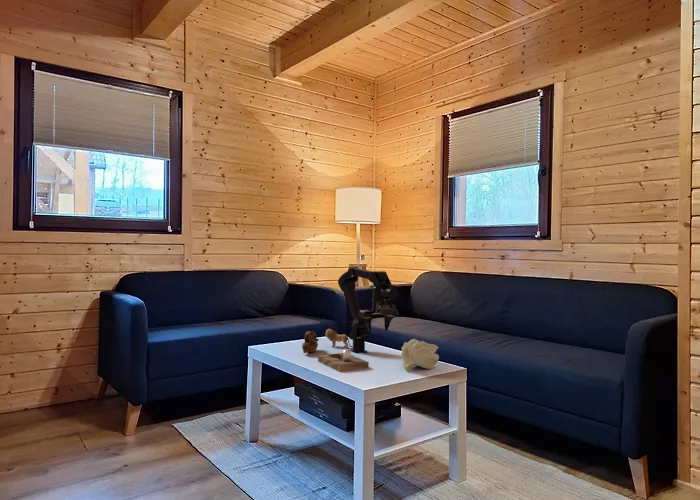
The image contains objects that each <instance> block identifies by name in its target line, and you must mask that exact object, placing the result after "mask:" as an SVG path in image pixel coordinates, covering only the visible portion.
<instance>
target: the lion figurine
mask: <svg viewBox="0 0 700 500" xmlns="http://www.w3.org/2000/svg"><path fill="white" fill-rule="evenodd" d="M324 336H325V337H326V339H328V340H329V341H331V342H332V345H331V348H335V346H336V344H337V342H342V343H343V344H344V345H343V348H345V350H349V347H350V348H353V345H351V343H350V339H349V336H348V335H346V334H339V333H337V332H336V331H335V330H334V329H331V328H328V329H326V330H325V335H324Z"/></svg>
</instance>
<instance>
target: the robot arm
mask: <svg viewBox="0 0 700 500" xmlns="http://www.w3.org/2000/svg"><path fill="white" fill-rule="evenodd" d="M359 278H362V279H367V280H368V281H369V282H371V285H370V286H369V288H371V289H372V299H371V301H370V303H372V308H370V310H368V309H361V307H360V303H359V301H358V298H357V294H356V287H357V284H356V283H357V281H358V280H359ZM337 283H338V286H339V289H340V290H341V291H342V292H343V293H344V295H345V298H346V300H347V304H348V307H349V308H348V309H349V312H350V314H351V318H352V324H351V331H350V332H349V334H348V339H349V340H351V341H352V349H351V348H350V349H349V350H351V353H352V352H353V353H356V354H359V353H368V350H366V349H365V348H366V341H365V340H368V339H369V338H370V337H369V336H370V335H371V334H370V333H371V332H372V320H373V316H383V320H384V321H383V322H384V331H386V332H387V331H388V330H389V328H390V324H391V323H392V320H393V319H395V318H396V317H398V316H399V312H398V309H396V305H395V304H388V302H387V300H389V301H390V300H391V301H395V300H397V299H398V297H399V290H398V289H397V288H396V285H395V284H392V282H391V280H390V278H389V276H388V274H387V272H386V271H385V270H384V271H383V270H381V271H380V270H373V271H372V270H368V269H363V268H360V267H349V269H348V270H347V271H345V272H344V273H342V274H341V276H339V278H338V280H337Z"/></svg>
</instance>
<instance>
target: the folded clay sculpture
mask: <svg viewBox="0 0 700 500" xmlns="http://www.w3.org/2000/svg"><path fill="white" fill-rule="evenodd" d="M438 349H439V346H438V345H436V344H435V343H434V344H432V343H427V342H425V341H423V340H418V339H416V338H413V339H412V338H411V339H410V340H409V341H408V342H407V341H405V342H404V343H403V346H402V347H401V361H400V362H401V365H402V366H403V369H404V370H405V371H406V372H410V371H412V369H413V367H414V366H417V367H421V368H423V369H428V370H431V369H434V368H435V365H437V362H439V359H440V356H439V354H437V353H436V352H437V350H438Z"/></svg>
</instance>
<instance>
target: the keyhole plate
mask: <svg viewBox="0 0 700 500" xmlns="http://www.w3.org/2000/svg"><path fill="white" fill-rule="evenodd" d="M317 362H318V363H321V364H323V365H325V366H326V367H328V368H331V369H333V370H335V371H337V372H340V373H341V372H347V371H358V370H365V369H369V368H370V367H369V364H370V363H369V361H367V360H365V359H362V358H360V357H357V356H356V355H352V354H351V362H344V361H343V352H339V353H338V352H337V353H329V354H320V355H319V354H318V355H317Z"/></svg>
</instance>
